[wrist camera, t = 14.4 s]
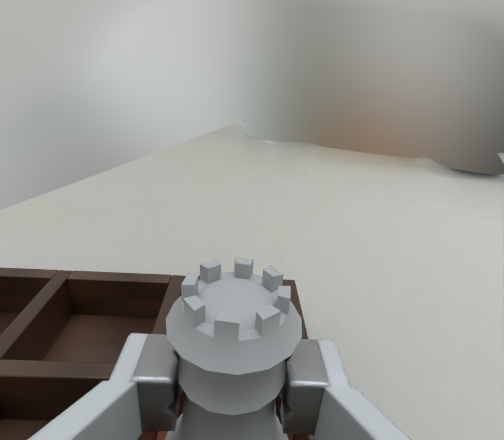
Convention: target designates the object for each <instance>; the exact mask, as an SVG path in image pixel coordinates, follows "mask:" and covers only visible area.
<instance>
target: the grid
mask: <svg viewBox="0 0 504 440" xmlns="http://www.w3.org/2000/svg"><path fill="white" fill-rule="evenodd" d="M185 277H186V276H179V275H172V276H171V275H162V274H138V273H114V272H91V271H63V270H59V271H58V270H43V269H20V268H0V440H28V439H29V438H30V437H32V436H33V435H34V434H35V433H37V432H38V431H39V430H41V429H42V428H43V427H44V426H46V425H47V424H48V423H50V422H51V421H52V420H53V419H55V418H56V417H57V416H59V415H60V414H61V413H62V412H64V411H65V410H66V409H67V408H69V407H70V406H71V405H73V404H74V403H75V402H76V401H78V400H79V399H80V398H82V397H83V396H84V395H85V394H87V393H88V392H89V391H90V390H92V389H93V388H94V387H96V386H97V385H98V384H99V383H101V382H102V381H109V379H110V377H111V374H112V372H113V370H114V367H115V365H116V363H117V360H118V358H119V356H120V354H121V351H122V349H123V347H124V344H125V342H126V340H127V337H128V336H129V335H130V334H131V333H141V334H165V335H167V330H166V317H167V315H168V314H169V312H170V310H171V308H172V306H173V304H174V302H175V301H176V300H177V299H178V298H179V297H180V296H181V284H182V282H183V281H184V279H185ZM199 280H200V276H198V281H199ZM282 286H291V297H290V301H291V302H292V304H293V305H294V307H295V309H296V310H297V312H298V314H299V315H300V317H301V319H302V338H301V339H308V336H307V331H306V327H305V323H304V319H303V314H302V310H301V306H300V301H299V297H298V293H297V289H296V284H295V281H294V280H283V282H282ZM185 395H186V393H185V392H184V390H183V391H182V394H181V395H180V396H179V412H178V417H177V419H178V418H179V417H180V415H181V414H182V412H183V406H184V400H185ZM281 400H282V399H281V398H280V396H279V394H278V395H277V397H276V398H275V404H276V416H277V417H278V419H279V422H280V424H281V425H282V422H281V414H280V407H281ZM167 433H168V431H142V434H141V435H140V437H139V438H138V439H137V440H165V438H166V435H167ZM287 437H288V439H289V440H316V439H315V438H314V435H300V434H287Z"/></svg>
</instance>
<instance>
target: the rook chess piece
mask: <svg viewBox="0 0 504 440" xmlns="http://www.w3.org/2000/svg"><path fill="white" fill-rule="evenodd" d="M253 261H254V259H245V258H237V257H235V269H234V272H229V273H221V264H220V263H219V261H218V260H217V259H215V260H212V261H209V262H205V263H202V264H200V280H199V281H198V276H197V275H193V274H189V273H187V275H186V277H185V279H184V281H183V282H182V284H181V296H180V297H179V298H178V299H177V300H176V301H175V302H174V304H173V306H172V308H171V310H170V312H169V314H168V315H167V317H166V330H167V339H168V340H169V341H170V343H171V344H172V346H173V347H174V348H175V350H176V351H177V352H178V354H179V355H180V356H181V357H180V359H179V362H178V380H179V384H180V386H181V387H182V389H183V390H184V392H185V393H186V395H185V400H184V406H183V412H182V414H181V415H180V417H179V418H178V419H177V422H176V428H175V431H168V433H167V435H166V438H165V440H289V439H288V437H287V434H283V431H282V425H281V424H280V422H279V419H278V417H277V416H276V404H275V398H276V397H277V395H278V393H279V392H280V390H281V388H282V386H283V385H284V383H285V380H286V373H285V372H286V363H285V360H284V359H286V358H288V357H289V356H291V355H292V353H293V351H294V350H295V348H296V346H297V345H298V343H299V341H300V340H301V338H302V319H301V317H300V315H299V314H298V312H297V310H296V309H295V307H294V305H293V304H292V302H291V301H290V297H291V286H282V282H283V274H282V273H281V272H279V271H278V270H276V269H275V268H274V267H272V266H271V265H270V266H268V267H267V268H265V269H263V278H261V277H259V276H256V275H253V274H252V273H253Z"/></svg>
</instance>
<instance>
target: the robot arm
mask: <svg viewBox="0 0 504 440" xmlns="http://www.w3.org/2000/svg"><path fill="white" fill-rule="evenodd" d="M180 357H181V356H180V355H179V354H178V352H177V351H176V350H175V348H174V347H173V346H172V344H171V343H170V341H169V340H168V339H167V335H165V334H141V333H131V334H130V335H129V336H128V337H127V340H126V342H125V344H124V347H123V349H122V351H121V354H120V356H119V358H118V360H117V363H116V365H115V367H114V370H113V372H112V374H111V377H110V379H109V381H102V382H101V383H99V384H98V385H97V386H96V387H94V388H93V389H92V390H90V391H89V392H88V393H87V394H85V395H84V396H83V397H82V398H80V399H79V400H78V401H76V402H75V403H74V404H73V405H71V406H70V407H69V408H67V409H66V410H65V411H64V412H62V413H61V414H60V415H59V416H57V417H56V418H55V419H53V420H52V421H51V422H50V423H48V424H47V425H46V426H44V427H43V428H42V429H41V430H39V431H38V432H37V433H35V434H34V435H33V436H32V437H30V438H29V439H28V440H137V439H138V438H139V437H140V435H141V434H142V431H175V428H176V422H177V417H178V412H179V396H180V395H181V394H182V391H183V389H182V387H181V386H180V384H179V380H178V362H179V359H180ZM284 360H285V363H286V372H285V373H286V380H285V383H284V385H283V386H282V388H281V390H280V392H279V393H278V394H279V396H280V398H281V399H282V400H281V407H280V414H281V422H282V431H283V434H300V435H314V438H315V439H316V440H412V439H411V438H410V437H409V436H408V435H407V434H406V433H405V432H403V431H402V430H401V429H400V428H399V427H398V426H397V425H396V424H395V423H394V422H393V421H392V420H391V419H389V418H388V417H387V416H386V415H385V414H384V413H383V412H382V411H381V410H380V409H379V408H378V407H376V406H375V405H374V404H373V403H372V402H371V401H370V400H369V399H368V398H367V397H366V396H365V395H364V394H362V393H361V392H360V391H359V390H358V389H357V388H351V386H350V383H349V380H348V377H347V374H346V371H345V368H344V365H343V362H342V359H341V356H340V353H339V350H338V347H337V345H336V342H335V341H334V340H308V339H301V340H300V341H299V343H298V345H297V346H296V348H295V350H294V351H293V353H292V355H291V356H289V357H288V358H286V359H284Z"/></svg>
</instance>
